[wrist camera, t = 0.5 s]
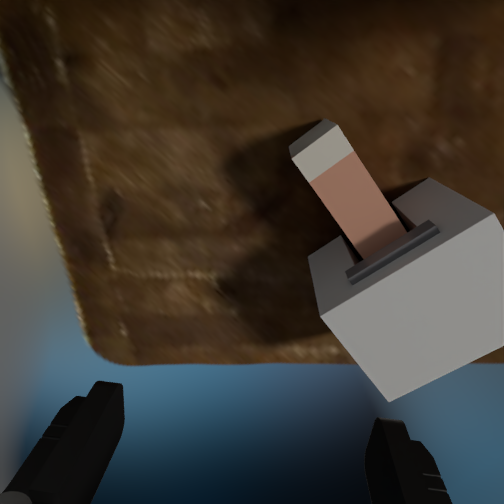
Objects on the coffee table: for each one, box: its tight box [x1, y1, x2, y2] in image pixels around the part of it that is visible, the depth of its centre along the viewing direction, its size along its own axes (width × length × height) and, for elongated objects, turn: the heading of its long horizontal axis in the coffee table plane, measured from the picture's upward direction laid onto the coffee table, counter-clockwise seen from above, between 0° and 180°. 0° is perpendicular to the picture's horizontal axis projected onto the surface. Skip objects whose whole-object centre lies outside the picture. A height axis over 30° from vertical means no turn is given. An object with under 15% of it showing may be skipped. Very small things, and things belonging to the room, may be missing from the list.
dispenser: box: [308, 177, 504, 402], centre depth 30 cm, size 12×10×10 cm
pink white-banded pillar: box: [288, 119, 407, 259], centre depth 30 cm, size 4×16×6 cm, turn 38°
